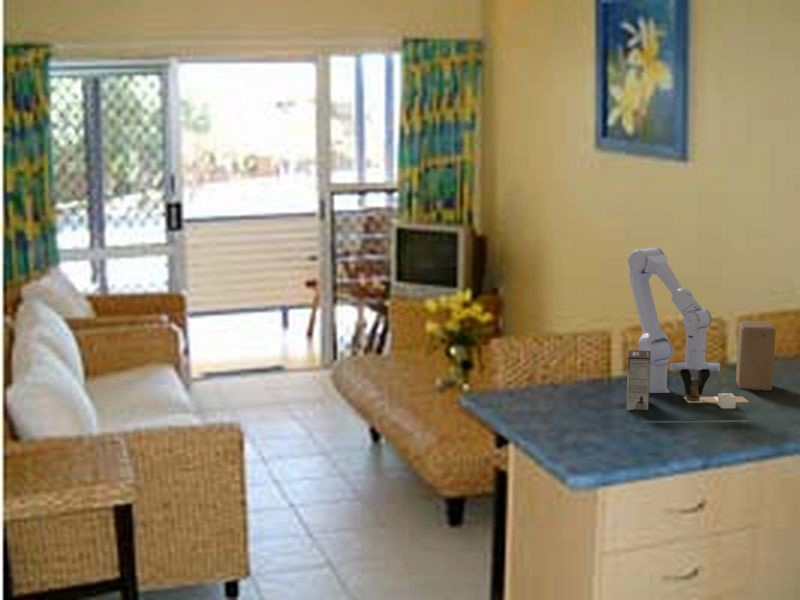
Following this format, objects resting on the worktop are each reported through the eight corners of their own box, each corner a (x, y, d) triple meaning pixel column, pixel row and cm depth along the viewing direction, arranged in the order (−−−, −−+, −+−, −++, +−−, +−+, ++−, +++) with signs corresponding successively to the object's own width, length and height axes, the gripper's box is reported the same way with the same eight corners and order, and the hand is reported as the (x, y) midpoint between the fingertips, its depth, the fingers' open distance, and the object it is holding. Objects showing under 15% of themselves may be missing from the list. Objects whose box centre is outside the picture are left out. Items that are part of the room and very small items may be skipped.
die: (721, 410, 325) (722, 397, 324) (717, 406, 329) (718, 393, 328) (735, 410, 325) (736, 397, 324) (731, 406, 329) (731, 393, 328)
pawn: (688, 401, 332) (689, 379, 330) (685, 397, 335) (686, 376, 334) (701, 401, 332) (702, 379, 330) (697, 397, 335) (698, 376, 334)
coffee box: (626, 401, 333) (628, 349, 330) (648, 403, 332) (650, 350, 329) (626, 410, 325) (628, 356, 322) (648, 411, 323) (651, 357, 320)
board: (688, 404, 331) (688, 402, 330) (683, 398, 337) (683, 396, 336) (749, 404, 331) (749, 402, 331) (742, 398, 337) (742, 396, 337)
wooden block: (772, 391, 344) (776, 328, 340) (738, 390, 346) (741, 326, 342) (768, 383, 354) (772, 321, 350) (735, 381, 355) (738, 320, 352)
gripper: (674, 352, 327) (672, 397, 329) (724, 352, 327) (721, 397, 329) (668, 347, 333) (666, 391, 336) (717, 347, 334) (714, 391, 336)
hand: (693, 394), depth 333 cm, fingers closed on pawn, 3 cm apart
